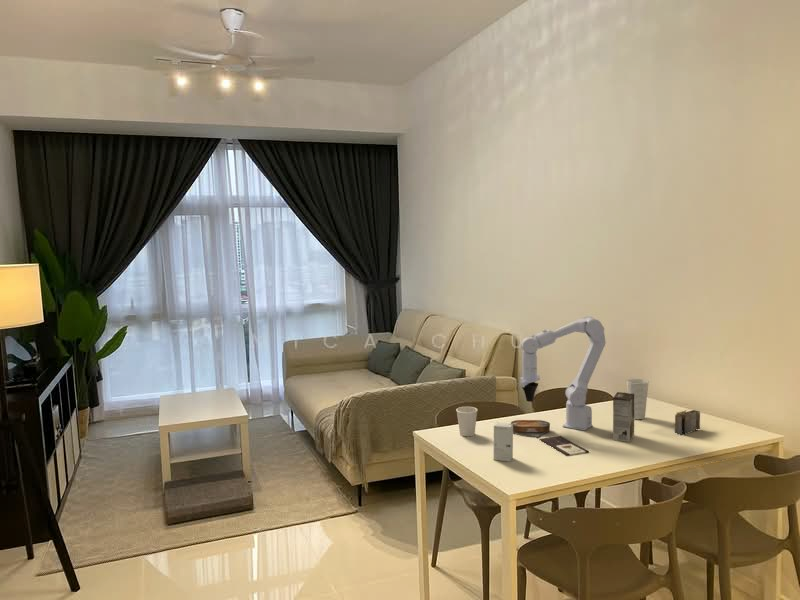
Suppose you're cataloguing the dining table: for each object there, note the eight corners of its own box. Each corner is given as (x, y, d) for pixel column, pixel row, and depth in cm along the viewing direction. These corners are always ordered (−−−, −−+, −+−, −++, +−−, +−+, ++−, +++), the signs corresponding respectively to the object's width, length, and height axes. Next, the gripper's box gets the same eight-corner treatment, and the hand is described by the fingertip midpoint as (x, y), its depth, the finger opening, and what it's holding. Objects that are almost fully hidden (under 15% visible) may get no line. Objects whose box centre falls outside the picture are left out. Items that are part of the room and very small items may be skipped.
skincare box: (493, 460, 205) (492, 425, 204) (496, 455, 209) (495, 421, 208) (511, 462, 202) (510, 427, 201) (513, 457, 207) (513, 423, 206)
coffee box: (616, 433, 230) (617, 391, 228) (634, 435, 226) (635, 393, 225) (612, 440, 222) (612, 397, 220) (630, 442, 219) (631, 399, 217)
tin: (548, 420, 238) (551, 425, 230) (548, 428, 238) (551, 433, 230) (509, 419, 239) (511, 424, 231) (509, 427, 239) (512, 432, 231)
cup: (623, 419, 247) (624, 382, 246) (629, 413, 254) (629, 377, 253) (645, 422, 242) (645, 384, 241) (650, 416, 249) (650, 380, 248)
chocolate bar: (560, 435, 227) (588, 451, 209) (560, 438, 227) (588, 453, 210) (539, 438, 224) (566, 454, 207) (539, 441, 224) (566, 457, 207)
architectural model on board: (682, 436, 225) (682, 411, 224) (674, 434, 227) (675, 409, 226) (700, 431, 230) (701, 406, 229) (693, 429, 233) (694, 404, 232)
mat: (546, 432, 233) (546, 430, 233) (537, 438, 226) (537, 436, 226) (506, 425, 243) (506, 423, 243) (497, 430, 237) (497, 429, 237)
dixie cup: (462, 439, 228) (462, 413, 227) (452, 432, 235) (452, 408, 234) (482, 436, 231) (481, 410, 230) (471, 430, 238) (471, 405, 237)
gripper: (528, 363, 247) (528, 395, 248) (512, 370, 235) (512, 403, 236) (544, 365, 242) (544, 398, 244) (528, 371, 231) (529, 406, 232)
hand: (529, 401), depth 240 cm, fingers closed
